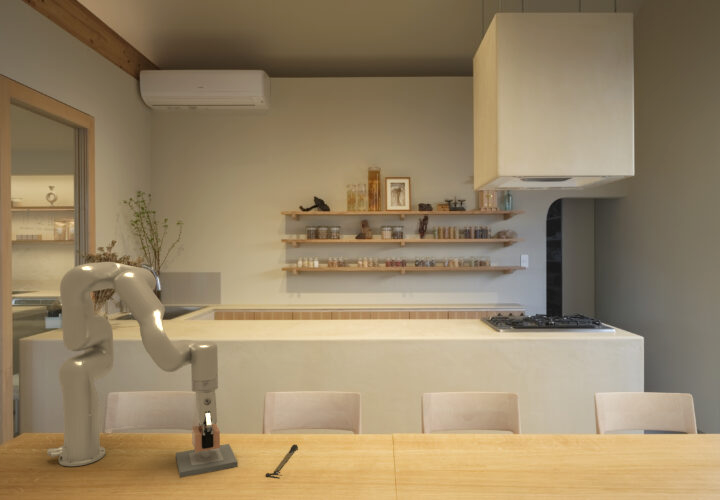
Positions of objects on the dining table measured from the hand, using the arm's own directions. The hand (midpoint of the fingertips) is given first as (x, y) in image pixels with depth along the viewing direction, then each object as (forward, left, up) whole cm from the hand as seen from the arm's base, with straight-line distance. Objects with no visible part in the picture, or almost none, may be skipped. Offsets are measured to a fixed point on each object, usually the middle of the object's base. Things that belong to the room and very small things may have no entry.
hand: (205, 442), depth 153 cm
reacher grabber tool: (+22, -10, -7) cm, 25 cm away
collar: (0, 0, -1) cm, 1 cm away
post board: (0, 0, -6) cm, 6 cm away
